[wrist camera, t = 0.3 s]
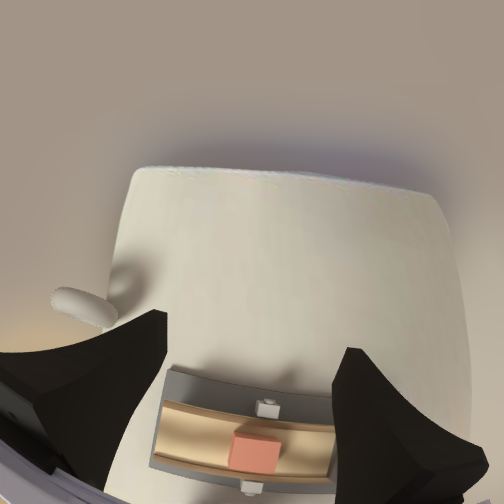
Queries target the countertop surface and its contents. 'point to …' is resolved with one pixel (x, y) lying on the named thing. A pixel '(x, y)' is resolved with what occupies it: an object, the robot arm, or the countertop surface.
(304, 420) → the tilt stand
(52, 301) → the donut
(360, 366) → the robot arm
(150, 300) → the countertop surface
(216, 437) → the beam
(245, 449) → the block
